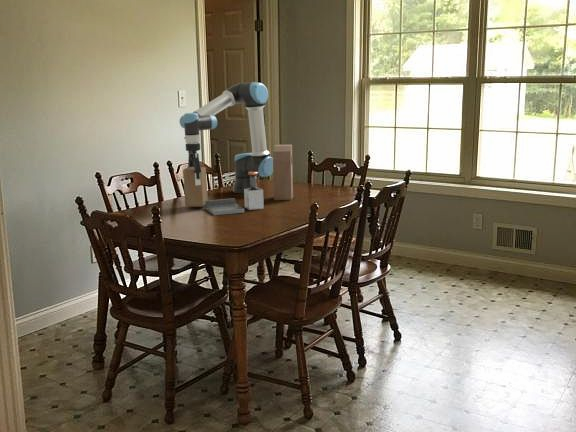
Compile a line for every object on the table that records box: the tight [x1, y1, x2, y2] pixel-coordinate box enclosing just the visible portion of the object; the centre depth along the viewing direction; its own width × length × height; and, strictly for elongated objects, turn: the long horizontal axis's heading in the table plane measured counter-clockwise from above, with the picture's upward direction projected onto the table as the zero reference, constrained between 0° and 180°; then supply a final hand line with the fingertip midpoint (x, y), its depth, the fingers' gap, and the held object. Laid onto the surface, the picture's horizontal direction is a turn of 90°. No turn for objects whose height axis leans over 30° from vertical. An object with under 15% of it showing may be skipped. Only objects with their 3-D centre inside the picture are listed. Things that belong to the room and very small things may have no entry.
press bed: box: [205, 197, 245, 216], centre depth 330 cm, size 18×16×4 cm
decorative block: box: [272, 144, 294, 201], centre depth 357 cm, size 10×10×30 cm
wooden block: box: [182, 166, 209, 208], centre depth 337 cm, size 10×10×20 cm
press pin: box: [248, 172, 258, 190], centre depth 333 cm, size 5×5×11 cm
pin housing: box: [243, 186, 265, 211], centre depth 334 cm, size 8×8×10 cm
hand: (195, 183), depth 336 cm, fingers closed on wooden block, 13 cm apart
